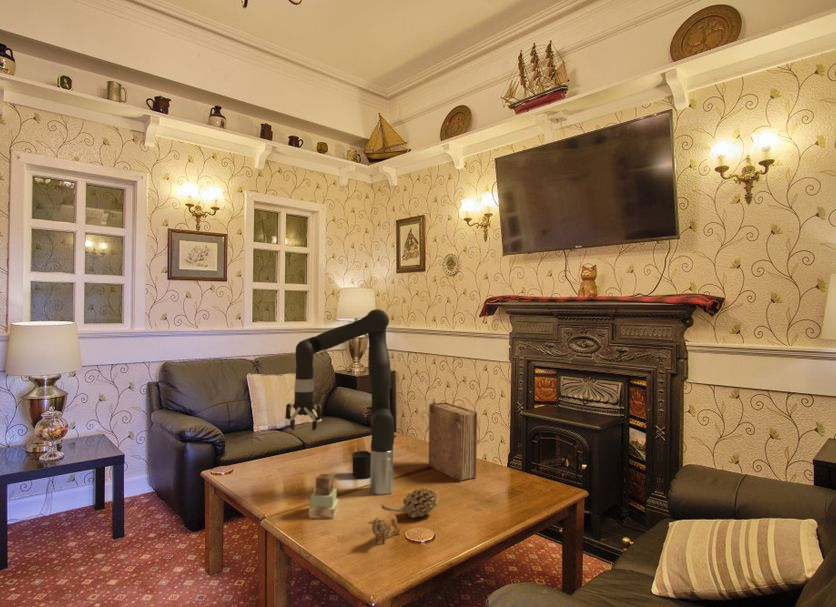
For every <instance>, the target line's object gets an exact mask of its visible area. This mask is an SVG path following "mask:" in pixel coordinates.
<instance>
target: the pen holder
mask: <svg viewBox="0 0 836 607" xmlns="http://www.w3.org/2000/svg"><path fill="white" fill-rule="evenodd" d="M351 458H352V460H351V461H352V477H353V478H354V479H358V480H366V479H370V469H371V451H370V452H369V451H367V450H359V451H354V452H352V457H351Z"/></svg>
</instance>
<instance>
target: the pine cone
mask: <svg viewBox="0 0 836 607" xmlns="http://www.w3.org/2000/svg"><path fill="white" fill-rule="evenodd" d="M437 496H438V494H436V492H435V491H432V489H430V490H429V489H428V488H427V487H426V488H424V487H420V488H419V487H416V488H415V489H414V490H413V491H412V493H411V492H409V493H408V494H406V496H405V497H403V500H402V503H403V507H392V506H388V505H385V504H382V503H381V504H380V506H381V509H382V510H383V511H384V510H385V511H389V512H397V513H398V512H399V513H400V512H403V513H405V514H407V515H408V517H409V518H411V519H414V518H419V517H423V516H426V515H427V514H428V513H431V512H432V511H433V509H435V508H437V506H438V503H439V502H438V497H437Z"/></svg>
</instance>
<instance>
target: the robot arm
mask: <svg viewBox="0 0 836 607" xmlns="http://www.w3.org/2000/svg"><path fill="white" fill-rule="evenodd" d="M389 322H390V317H389V315H388V314H387V313H386V312H385V311H384V310H382V309H371V311H369V312H367V314H366V315H365V316H364V317H361V318H359V319H358V320H356V321H353V322H351V323H348V324H344V325H341V326H337V327H335V328H331V329H329V330H326V331H324V332H322V333H320V334H318V335H316V336H311V337H309V338H306V339H303V340H301V341H299V342H298V343H297V345H296V346H295V365H296V366H295V377H294V378H295V380H294V387H293V388H294V399H293V400H294V402H293V403H291V402H289V403H286V408H285V415H284V417H285V419H286V420H289V422H290V423H289V428H290V429H291V431H294V430H295V427H296V419H295V418H297V416H298V415H299V416H309V418H310V419H311V420H312V426H311V429H312V431H316V429H317V428H318V421H320V420H321V419H322V416H323V415H322V404H321V403H318V404H315V403H314V392H315V390H314V387H315V386H314V384H315V383H314V365H313V364H314V355H315V354H317V353H319V352H322V351H326V350H330V349H332V348H335V347H337V346H339V345H342V344H344V343H347V342H350V340H353V339H356V338H358V337H360V336H364V335H365V336H366V335H367V338H368V357H367V358H368V360H367V362H368V364H367V366H368V367H367V368H368V369H367V370H368V383H369V389H370V390H369V391H370V395H371V413H370V424H371V443H370V453H371V469H370V478H369V482H370V484H369V491H370V492H371V493H372V494H374V495H388V494H389V495H390V494H392V493H393V490H394V463H393V462H394V442H395V419H394V417H393V415H392V412H391V404H390V390H391V389H390V388H391V380H392V378H391V377H392V374H391V373H392V372H391V371H392V370H391V360H390V354H389V350H388V346H387V328H388V326H389ZM292 409H294V412H293V414H292V413H291V412H292ZM314 409H315V411H316V414H315V412H314V411H313V410H314ZM291 414H292V415H291Z"/></svg>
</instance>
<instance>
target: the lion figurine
mask: <svg viewBox="0 0 836 607" xmlns="http://www.w3.org/2000/svg"><path fill="white" fill-rule="evenodd" d="M371 526H372V527H371V529H372V533H373V534H374V535H375V536H374V538H375V540H373V541H374V544H377V543H378V542H379V537H380V536H381V537H382V538H381V545H385V544H386V536H389V534H390V532H391V530H392V529H391V526H392V527H393V528H394V529H395V530H396V531H397V532H396V535H397V536H399V535H401V532H400V531H401V528H400V526H399V523H398V519H397V516H395V515H393V514H392V515H388V516H387V517H386V518H384V519H383V518H382V517H379V516H377V517H375V518H374V519H373V520H372V524H371Z"/></svg>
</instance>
